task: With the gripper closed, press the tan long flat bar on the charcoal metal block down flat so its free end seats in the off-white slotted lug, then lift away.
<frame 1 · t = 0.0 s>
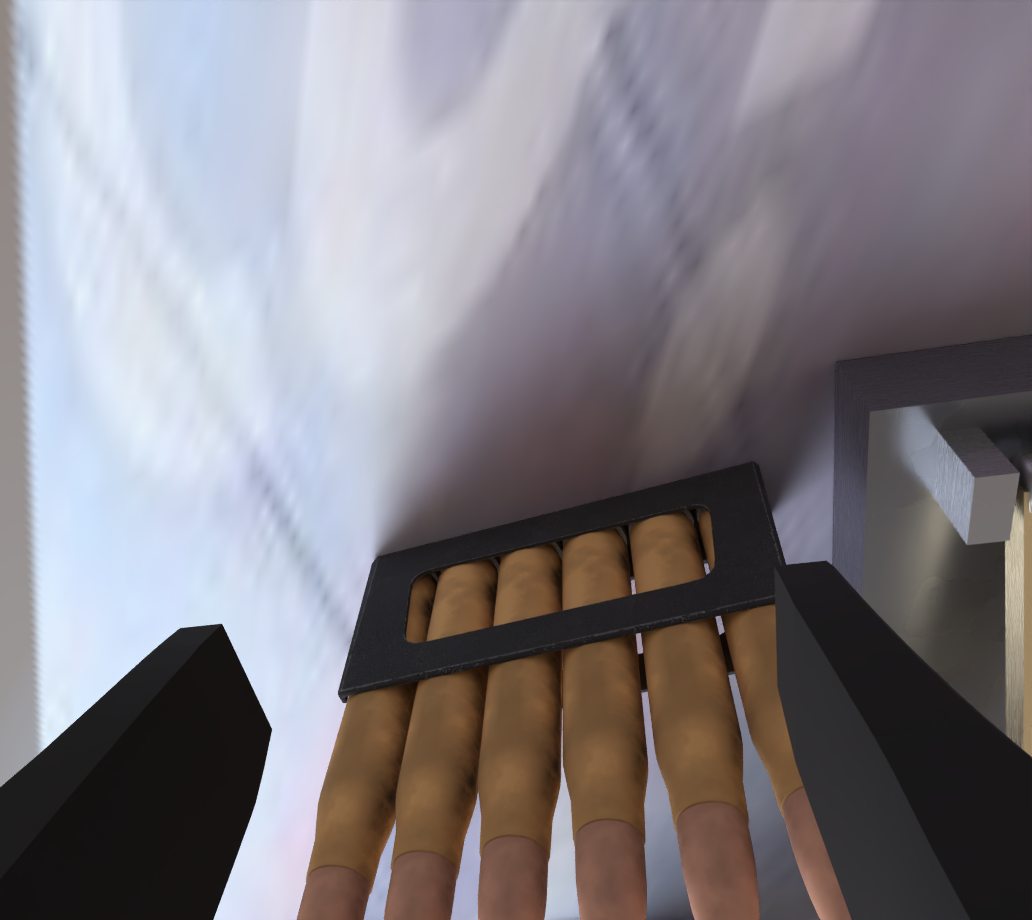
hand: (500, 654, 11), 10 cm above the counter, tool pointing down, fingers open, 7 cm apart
block: (976, 645, 23), on the counter
ammunition clip: (564, 534, 22), on the counter
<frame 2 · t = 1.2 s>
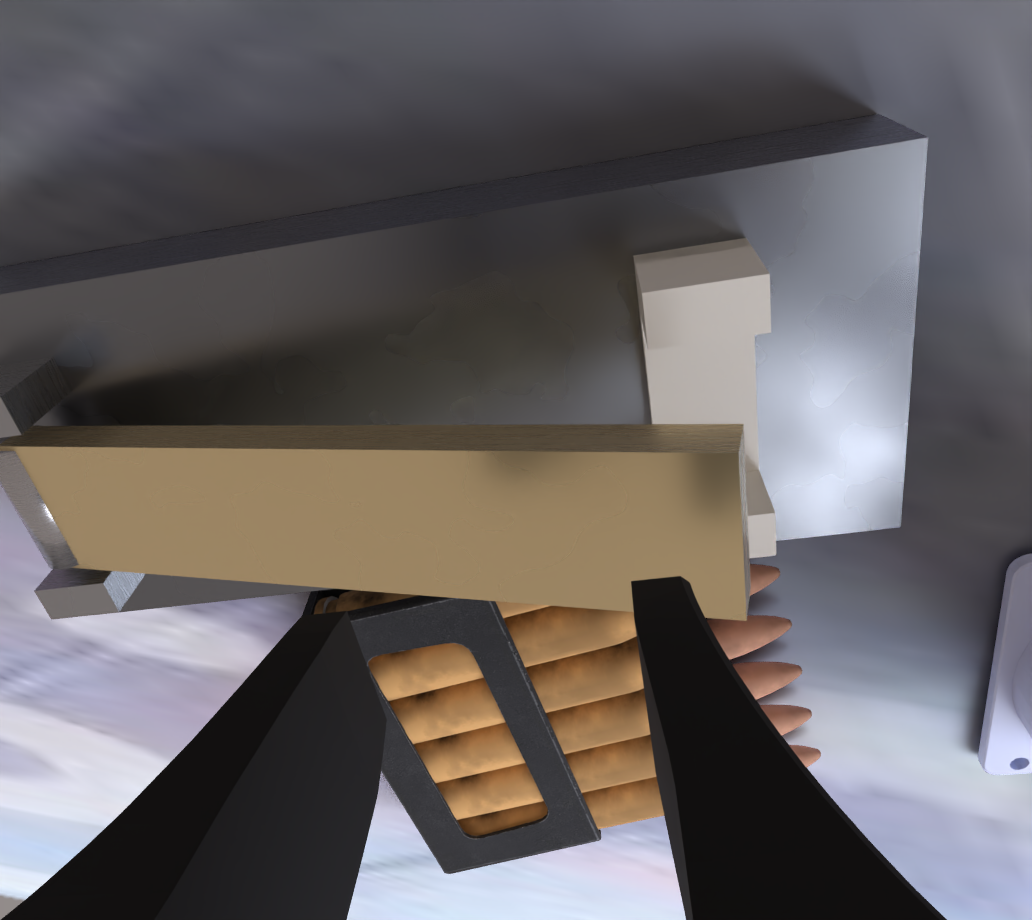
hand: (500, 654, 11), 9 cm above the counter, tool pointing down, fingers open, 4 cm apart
block: (443, 371, 19), on the counter
tan long flat bar: (322, 509, 15), point 5 cm above the counter, hinge at 15.0°
lug: (683, 337, 18), resting on block
ammunition clip: (377, 742, 24), point 1 cm above the counter
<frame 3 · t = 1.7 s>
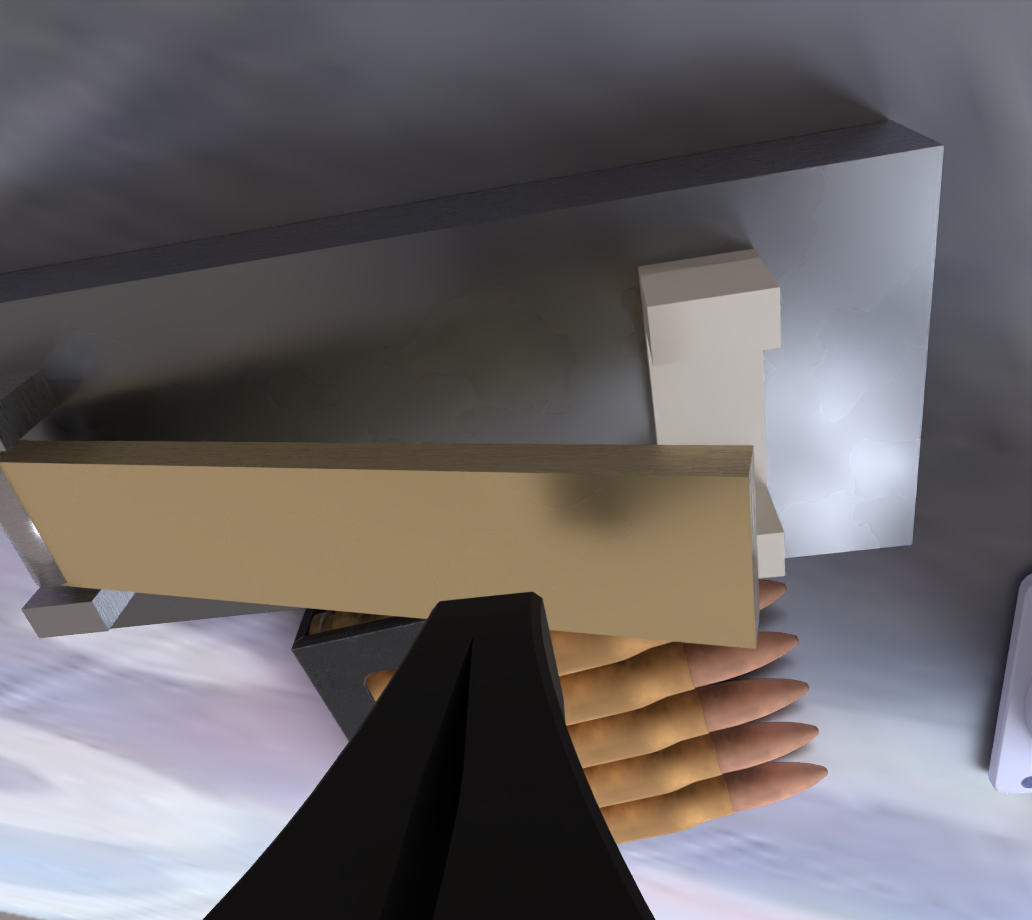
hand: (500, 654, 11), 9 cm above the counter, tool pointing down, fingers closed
block: (442, 383, 19), on the counter
tan long flat bar: (316, 528, 14), point 5 cm above the counter, hinge at 15.0°
lug: (689, 348, 18), resting on block
ammunition clip: (375, 759, 24), point 1 cm above the counter
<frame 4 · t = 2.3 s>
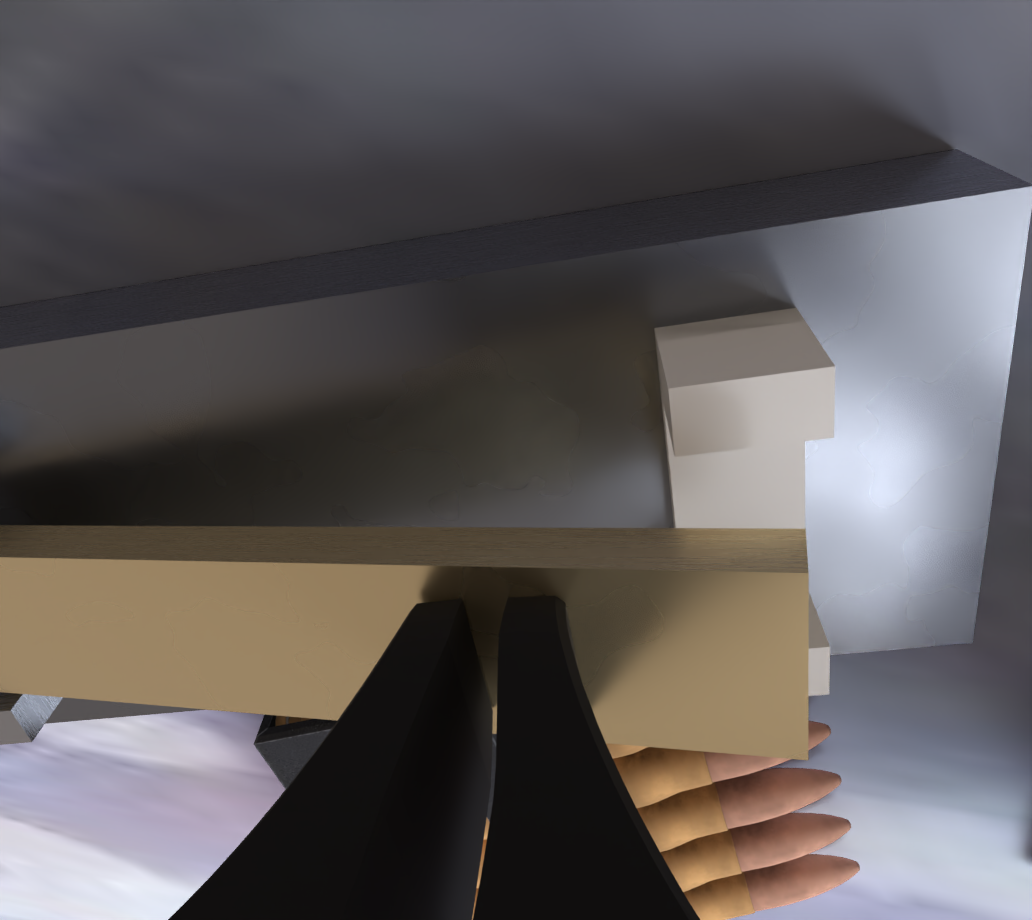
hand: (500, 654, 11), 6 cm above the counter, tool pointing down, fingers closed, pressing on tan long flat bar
block: (424, 446, 16), on the counter
tan long flat bar: (280, 625, 12), point 5 cm above the counter, hinge at 11.1°, touching gripper
lug: (710, 409, 15), resting on block
ammunition clip: (353, 851, 21), point 1 cm above the counter
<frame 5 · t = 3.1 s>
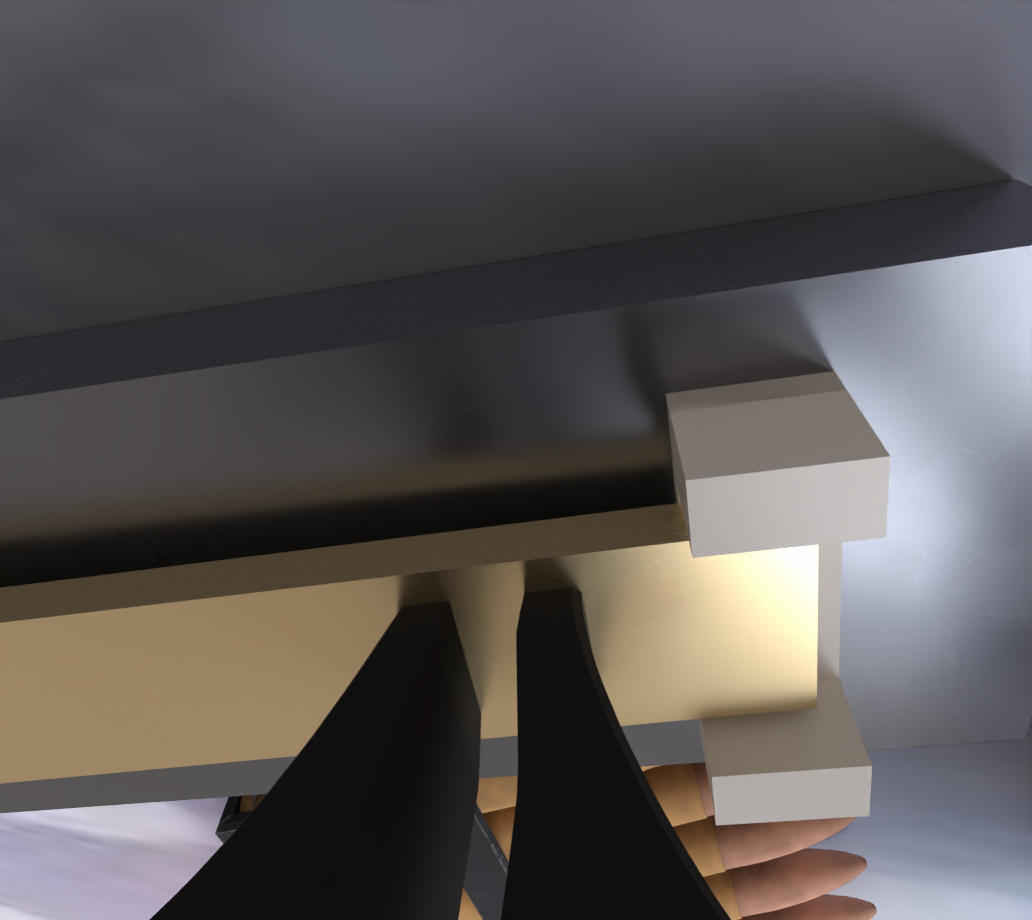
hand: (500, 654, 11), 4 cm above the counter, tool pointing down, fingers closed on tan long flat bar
block: (403, 508, 14), on the counter
tan long flat bar: (270, 660, 11), point 3 cm above the counter, hinge at -0.9°, touching gripper, lug
lug: (726, 469, 13), resting on block
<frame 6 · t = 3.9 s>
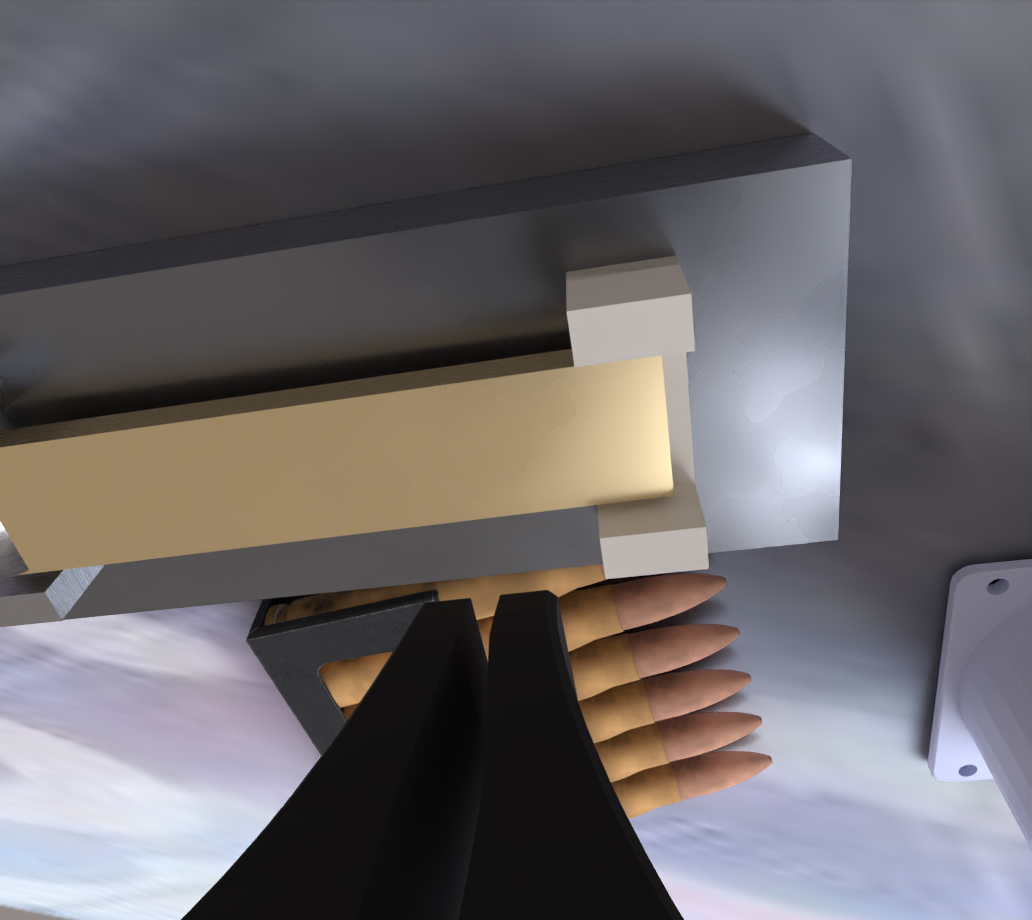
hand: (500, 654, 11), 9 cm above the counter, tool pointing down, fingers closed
block: (390, 381, 19), on the counter
tan long flat bar: (295, 467, 16), point 3 cm above the counter, hinge at -0.9°, touching lug
lug: (627, 349, 18), resting on block
ammunition clip: (332, 747, 24), point 1 cm above the counter
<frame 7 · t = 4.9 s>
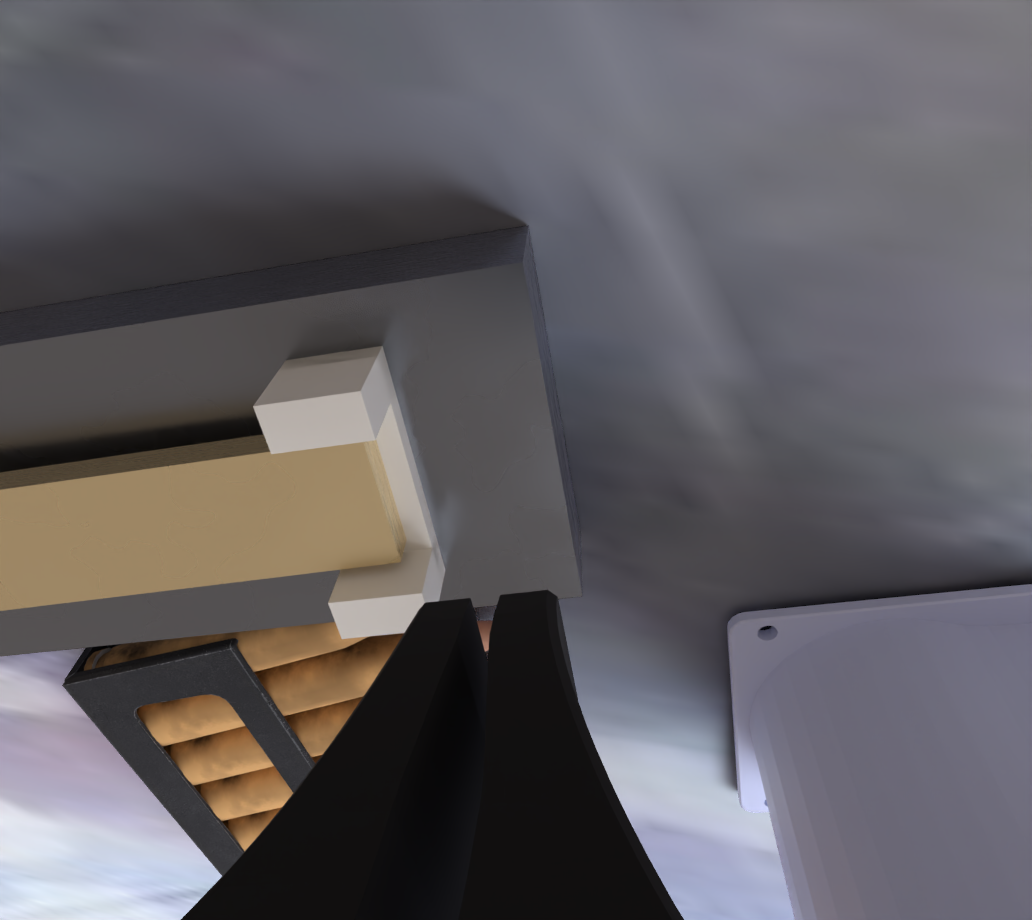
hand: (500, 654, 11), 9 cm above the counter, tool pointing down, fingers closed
block: (180, 446, 20), on the counter
tan long flat bar: (58, 535, 18), point 3 cm above the counter, hinge at -0.9°, touching lug
lug: (392, 417, 20), resting on block
ammunition clip: (169, 781, 26), point 1 cm above the counter
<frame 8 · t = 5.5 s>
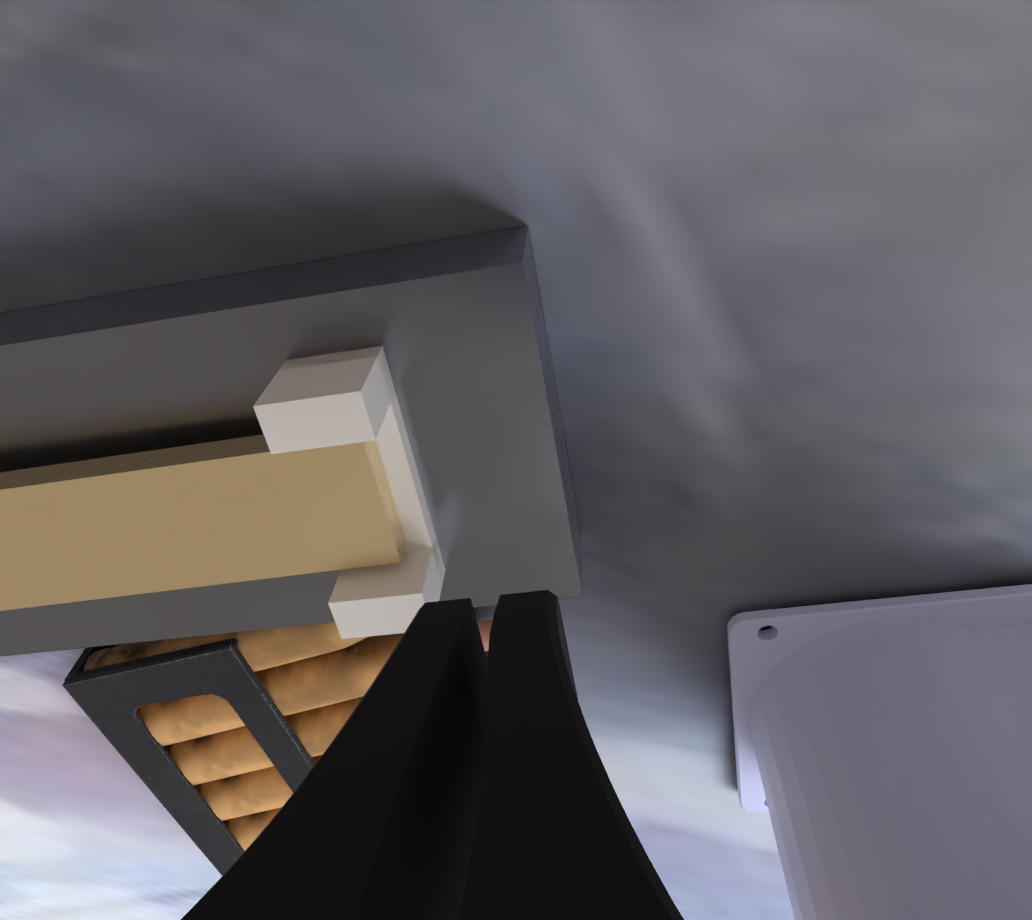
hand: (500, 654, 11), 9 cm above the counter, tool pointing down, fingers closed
block: (180, 446, 20), on the counter
tan long flat bar: (58, 535, 18), point 3 cm above the counter, hinge at -0.9°, touching lug
lug: (392, 417, 20), resting on block
ammunition clip: (169, 781, 26), point 1 cm above the counter
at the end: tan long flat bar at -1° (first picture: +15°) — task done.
